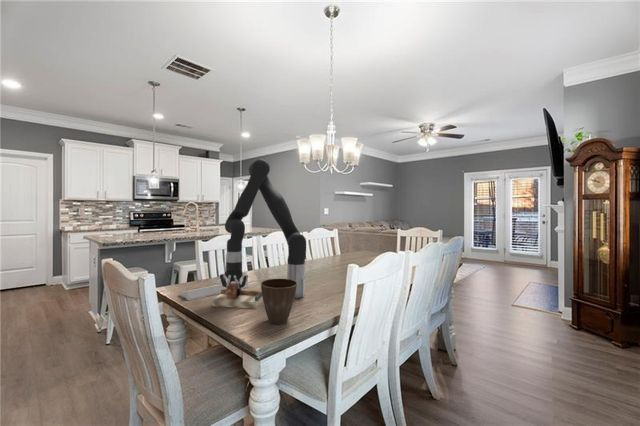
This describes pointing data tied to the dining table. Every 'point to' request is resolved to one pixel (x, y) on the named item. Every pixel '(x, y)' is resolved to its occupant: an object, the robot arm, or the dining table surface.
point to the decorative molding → (205, 291)
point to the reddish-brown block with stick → (231, 291)
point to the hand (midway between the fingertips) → (233, 295)
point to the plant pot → (278, 298)
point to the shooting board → (239, 299)
